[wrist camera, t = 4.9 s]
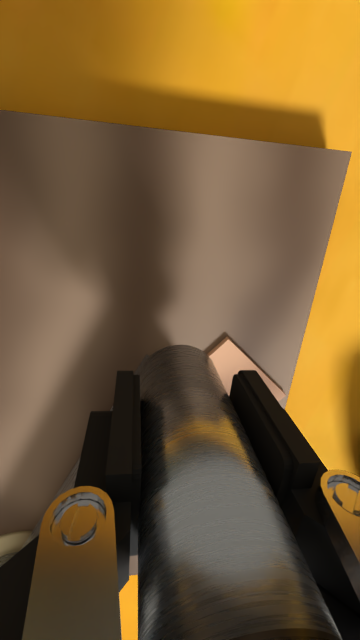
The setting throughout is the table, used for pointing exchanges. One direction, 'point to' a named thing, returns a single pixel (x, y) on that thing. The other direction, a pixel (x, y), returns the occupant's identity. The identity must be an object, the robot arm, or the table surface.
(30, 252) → the board
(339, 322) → the table surface
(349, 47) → the table surface
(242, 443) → the press lever
